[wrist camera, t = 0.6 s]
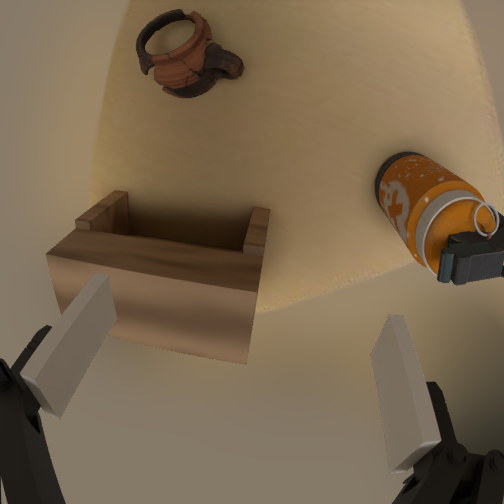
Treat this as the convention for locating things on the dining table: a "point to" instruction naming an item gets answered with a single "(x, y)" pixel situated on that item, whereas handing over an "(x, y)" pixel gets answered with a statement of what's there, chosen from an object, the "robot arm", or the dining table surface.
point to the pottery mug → (187, 58)
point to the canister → (441, 219)
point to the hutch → (165, 282)
